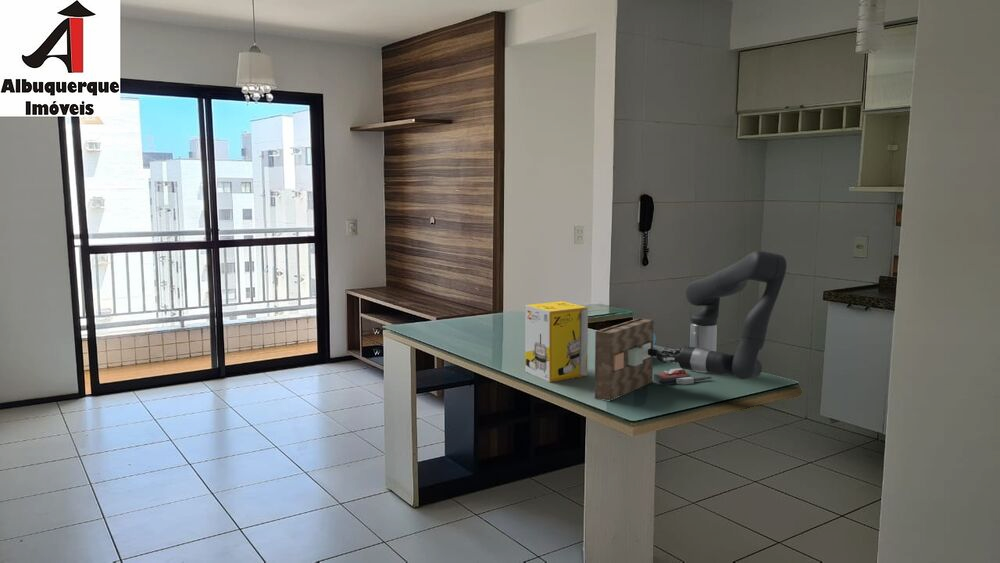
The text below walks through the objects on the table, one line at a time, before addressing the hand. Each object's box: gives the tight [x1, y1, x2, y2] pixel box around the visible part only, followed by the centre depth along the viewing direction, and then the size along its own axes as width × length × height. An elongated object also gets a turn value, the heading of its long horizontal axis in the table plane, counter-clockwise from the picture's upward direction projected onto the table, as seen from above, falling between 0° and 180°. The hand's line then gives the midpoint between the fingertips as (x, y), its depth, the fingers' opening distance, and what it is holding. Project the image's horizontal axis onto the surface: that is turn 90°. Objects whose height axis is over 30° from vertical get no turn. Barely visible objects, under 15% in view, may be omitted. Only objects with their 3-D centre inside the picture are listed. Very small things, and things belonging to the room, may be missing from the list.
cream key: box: [642, 342, 651, 360], centre depth 242 cm, size 5×4×5 cm
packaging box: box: [524, 300, 589, 383], centre depth 257 cm, size 16×16×25 cm
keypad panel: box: [594, 317, 655, 401], centre depth 236 cm, size 28×6×22 cm, turn 140°
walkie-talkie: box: [653, 367, 712, 386], centre depth 248 cm, size 9×4×20 cm
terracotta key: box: [613, 352, 624, 371], centre depth 229 cm, size 5×4×5 cm
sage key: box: [628, 347, 643, 366], centre depth 234 cm, size 5×4×5 cm
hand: (648, 351), depth 240 cm, fingers closed
